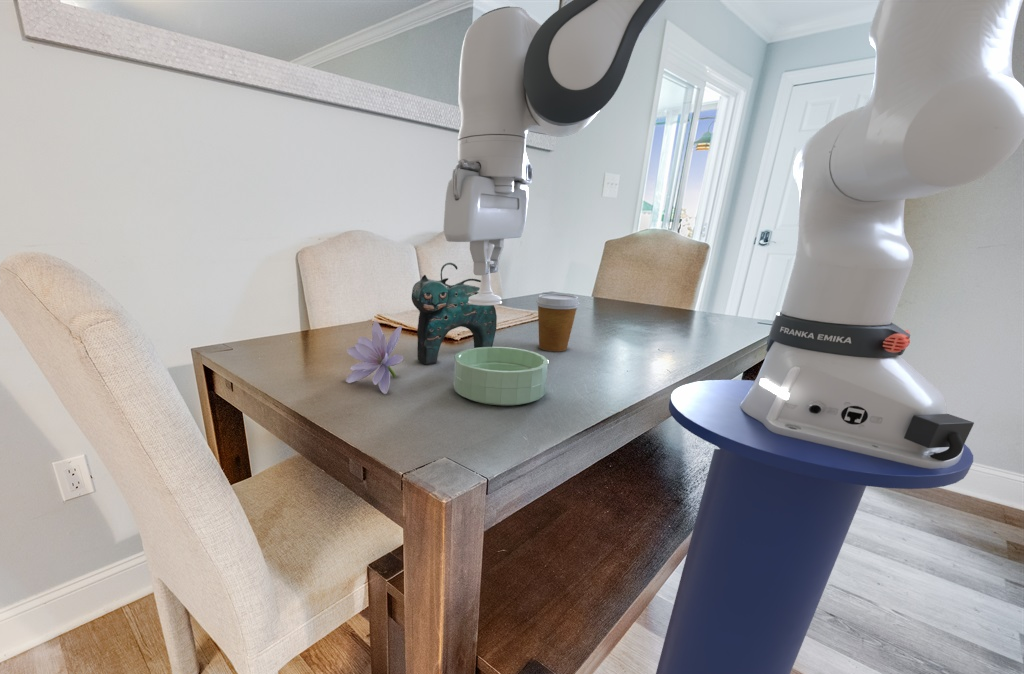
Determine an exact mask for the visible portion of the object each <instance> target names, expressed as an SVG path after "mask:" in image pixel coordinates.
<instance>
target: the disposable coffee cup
mask: <svg viewBox="0 0 1024 674" xmlns="http://www.w3.org/2000/svg"><path fill="white" fill-rule="evenodd" d="M535 302H536V306H537V321H538V348H539V349H541V350H543V351H546V352H565V351H567V349H568V345H569V341H570V337H571V334H572V330H573V325H574V321H575V319H576V318H575V317H576V314H577V310H578V308H579V306H580V305H581V302H579V297H578V296H577V295H573V294H565V293H564V294H563V293H542V294H539V295H538V298H537V300H536V301H535Z"/></svg>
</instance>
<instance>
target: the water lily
mask: <svg viewBox="0 0 1024 674" xmlns="http://www.w3.org/2000/svg"><path fill="white" fill-rule="evenodd" d="M402 328H403V325H399V326H397V328H395V330H394V331H392V333H391V335H390V337H389V339H388V342H387V338H386V334H385V333H383V330H382V327H381V325H380V323H379V322H378V321H377V320H374V321H373V324H372V326H371V339H370V338H368V337H366V336H359V337H358V338H357V343H355V345H354V346H351V347H348V348H347V349H346V351H347V353H348V355H349V356H350V357H352V358H353V359H355V360H357V361H361V362H358V363H355V364H353V365H351V367H349V369H350V370H352V372H350V373H349V375H348V376H347V378H346V379H345V382H346V383H347V384H352V383H355V382H358V381H361V380H363V379H365V378H366V377H368V376H371V374H373V373H374V372H375V373H374V375H373V377H372V383H373V385H374V386H377V385H378V388H379V390H380V391H381V393H383V394H384V395H386V394H387V393H388V391H389V388H390V384H391V376H392V378H396V377H397V374H396V373H395V371H394V370H393V368H392V367H394V366H397V365H398V364H400V363H402V362H403V361H404V357H403V356H402V355H401V354H394V355H392V353H393V351H394V350H395V348H396V346H397V344H398V342H399V339H400V337H401V333H402V330H403V329H402ZM391 355H392V356H391Z"/></svg>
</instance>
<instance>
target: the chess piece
mask: <svg viewBox="0 0 1024 674" xmlns="http://www.w3.org/2000/svg"><path fill="white" fill-rule="evenodd" d="M493 249H494V244H491V243H489V240H488V249H486V252H487V261H488V262H490V264H494V263H493V262H494V261H490V260H491V259H490V257H491V255H492V251H493ZM480 280H481V282H480V284H479V288H480V289H479V291H477V292H479V293H478V294H476V295H472V296H470V297H469V301H468V303H469V304H473V305H483V306H490V305H494V306H498V305H502V303H503V301H502V299H503V298H502V297H501V296H500V295H497V294H494V290H493V289H492V283H491V273H490V265H489V273H488V274H487V275H483V276H481V278H480Z"/></svg>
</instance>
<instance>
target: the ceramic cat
mask: <svg viewBox="0 0 1024 674" xmlns="http://www.w3.org/2000/svg"><path fill="white" fill-rule="evenodd" d="M448 265H450V266H453V267H454V268H455V270H458V269H459V268H458V265H456V264H455V263H453V262H446V263H445V264H443V265H442V266H441V269H440V280H434V279H430V278H428V277H427V275H426V274H423V276H422V277H421V279H420V280H418V281H416V282H415V283H414V284H413V286H412V290H411V301H412V304H413V306H414V307H415V308H416V309H417V310H418V312H419V315H418V320H417V321H418V322H417V330H416V335H417V349H416V350H417V351H416V353H417V361H418V362H419V363H421V364H422V365H426V366H428V365H434V364H437V363H438V358H439V357H438V356H439V353H440V348H441V345H442V343H443V342H444V340H445V338H446V336H447V335H448V333H449V332H451V331H452V330H455V329H458V328H460V327H461V328H465V329H468V330H469V331H470V332H471V334H472V340H473V348H479V347H494V341H495V338H496V337H495V336H496V332H497V326H498V325H497V323H498V322H497V320H498V315H497V310H496V307H495V305H490V306H483V305H473V304H469V303H468V301H469V297H470V296H472V295H476V294H478V293H479V292H477V291H479V289H480V286H476V285H472V284H465V283H466V282H478V283H481V279H477V278H467V279H463V280H462V281H459V282H457V283H455V284H452V285H451V284H447V283H446V282H447V281H448V280H449V277H445V278H443V270H444V268H445V267H446V266H448Z"/></svg>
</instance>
